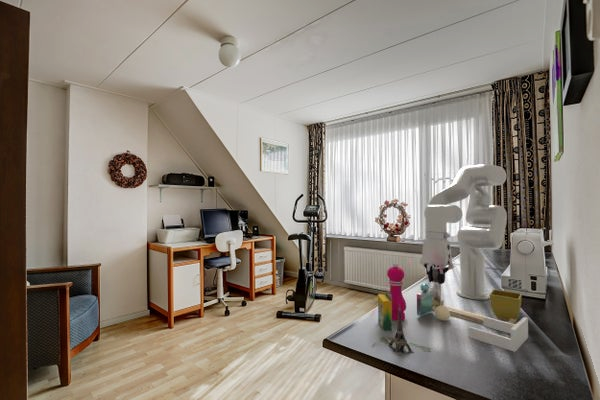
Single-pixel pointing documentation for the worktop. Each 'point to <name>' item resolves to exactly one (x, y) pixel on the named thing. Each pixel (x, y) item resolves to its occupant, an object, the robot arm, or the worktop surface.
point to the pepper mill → (396, 291)
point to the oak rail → (468, 315)
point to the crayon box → (385, 311)
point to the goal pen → (516, 330)
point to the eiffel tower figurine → (401, 341)
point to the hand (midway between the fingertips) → (436, 282)
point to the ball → (442, 313)
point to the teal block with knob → (430, 295)
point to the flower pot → (505, 304)
